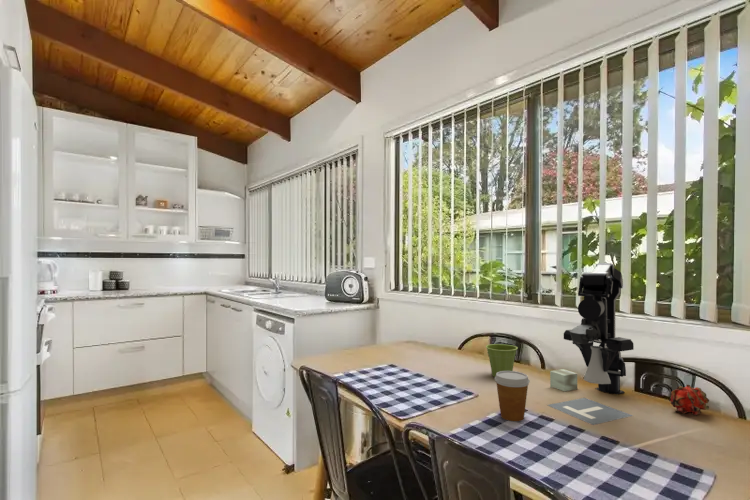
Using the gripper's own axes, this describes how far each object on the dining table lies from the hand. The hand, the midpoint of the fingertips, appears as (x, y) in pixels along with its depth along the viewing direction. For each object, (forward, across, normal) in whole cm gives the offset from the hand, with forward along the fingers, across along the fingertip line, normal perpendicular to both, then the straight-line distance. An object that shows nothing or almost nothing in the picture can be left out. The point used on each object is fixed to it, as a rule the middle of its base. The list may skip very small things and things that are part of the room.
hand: (596, 369), depth 118 cm
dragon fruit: (+13, +10, +24) cm, 30 cm away
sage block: (+13, -20, +9) cm, 25 cm away
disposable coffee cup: (+13, -8, -24) cm, 29 cm away
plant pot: (+13, -41, 0) cm, 43 cm away
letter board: (+13, -2, -1) cm, 13 cm away
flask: (+4, 0, 0) cm, 4 cm away
